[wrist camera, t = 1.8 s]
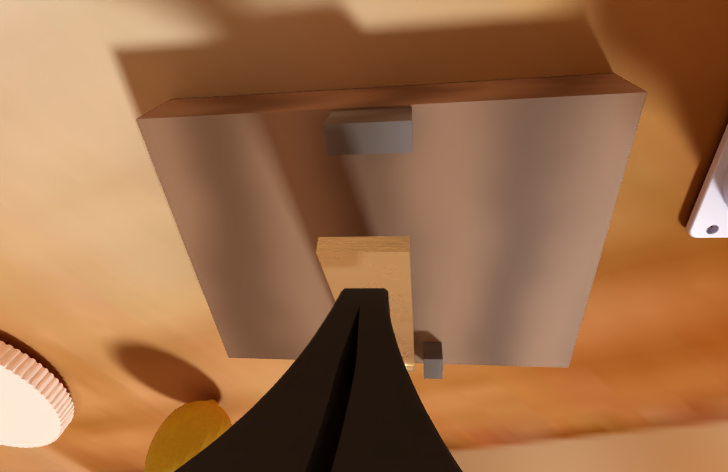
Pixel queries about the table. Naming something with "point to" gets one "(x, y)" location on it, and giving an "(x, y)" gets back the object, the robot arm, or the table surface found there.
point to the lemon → (186, 435)
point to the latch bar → (374, 277)
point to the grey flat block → (403, 206)
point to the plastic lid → (30, 401)
